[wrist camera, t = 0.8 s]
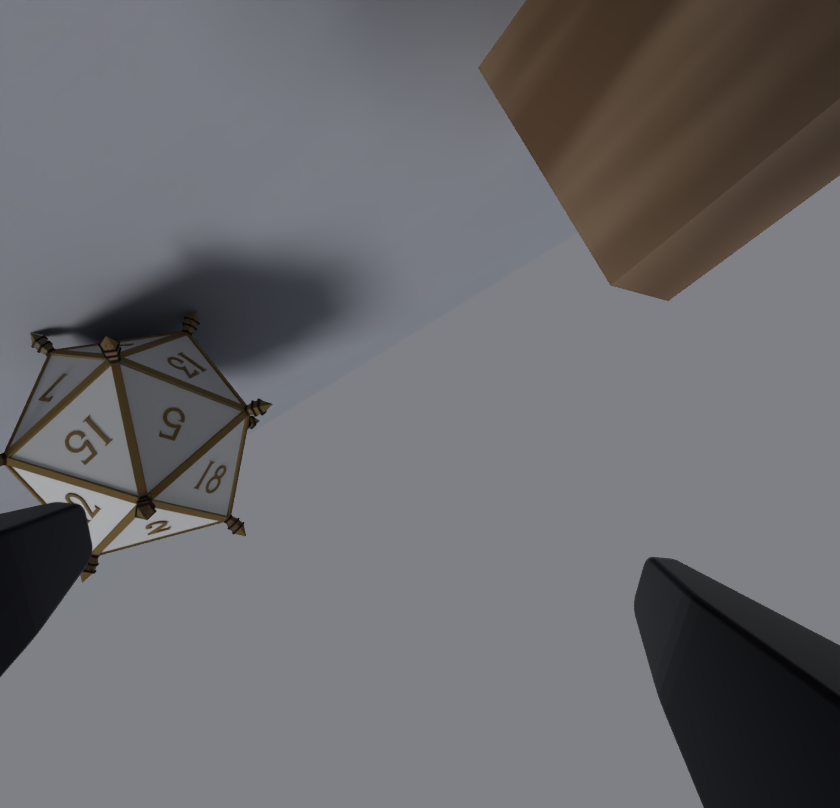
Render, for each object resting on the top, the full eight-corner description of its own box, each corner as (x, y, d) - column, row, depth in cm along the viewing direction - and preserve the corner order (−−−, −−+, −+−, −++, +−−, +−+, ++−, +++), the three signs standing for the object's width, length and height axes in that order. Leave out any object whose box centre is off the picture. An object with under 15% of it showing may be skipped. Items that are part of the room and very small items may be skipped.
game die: (166, 267, 23) (333, 437, 25) (13, 408, 23) (192, 571, 25) (57, 213, 15) (327, 482, 16) (-195, 439, 14) (106, 692, 16)
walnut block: (478, 67, 16) (610, 285, 13) (695, -239, 11) (977, -15, 8) (541, 105, 18) (669, 301, 15) (748, -142, 13) (989, 66, 10)
